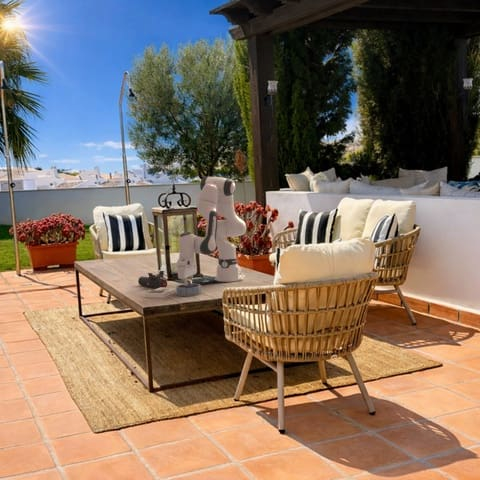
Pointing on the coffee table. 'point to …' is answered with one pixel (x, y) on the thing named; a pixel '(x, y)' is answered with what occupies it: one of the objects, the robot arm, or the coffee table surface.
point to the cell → (189, 284)
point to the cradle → (159, 292)
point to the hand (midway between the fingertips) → (188, 284)
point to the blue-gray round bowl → (188, 290)
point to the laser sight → (153, 280)
